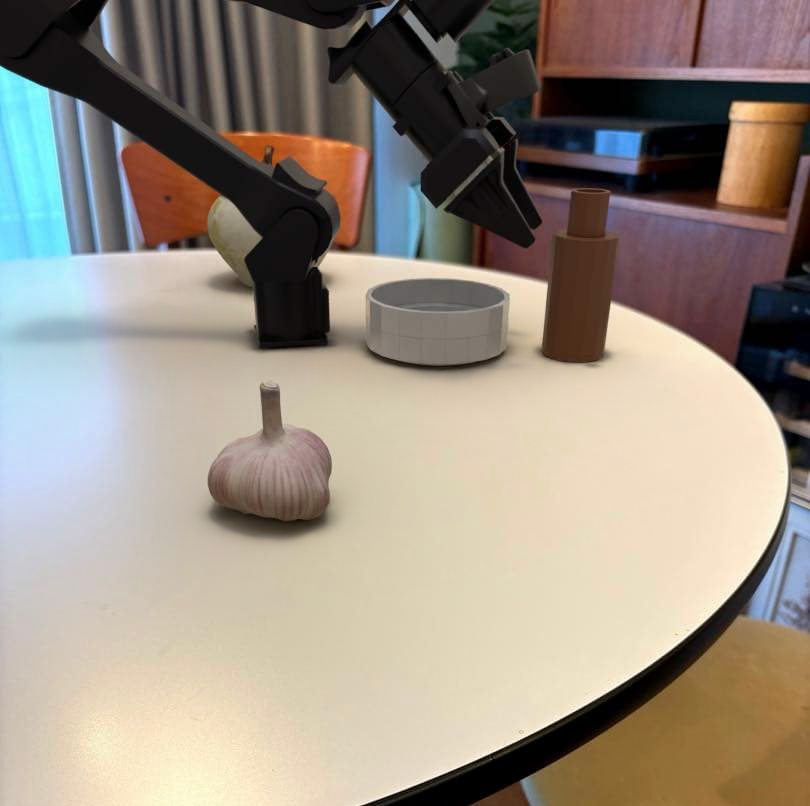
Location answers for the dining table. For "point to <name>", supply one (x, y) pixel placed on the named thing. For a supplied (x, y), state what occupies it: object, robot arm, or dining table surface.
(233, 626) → the dining table surface
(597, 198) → the bottle
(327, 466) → the garlic bulb
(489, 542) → the dining table surface
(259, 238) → the sugar bowl
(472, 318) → the dish
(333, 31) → the robot arm
